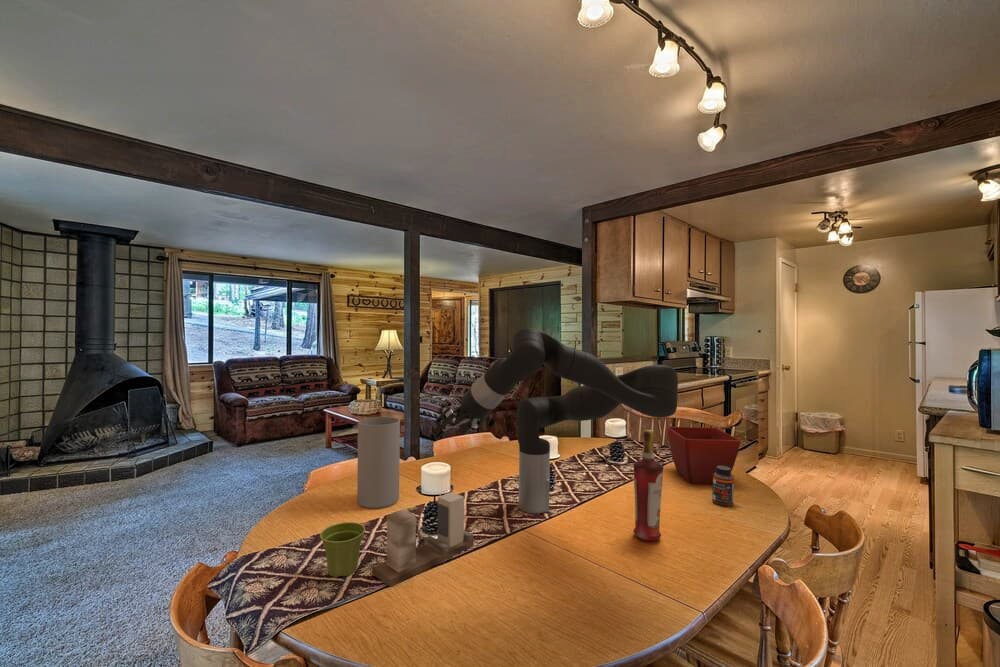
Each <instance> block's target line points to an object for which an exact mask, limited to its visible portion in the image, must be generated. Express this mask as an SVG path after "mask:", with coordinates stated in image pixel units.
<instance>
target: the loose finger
mask: <svg viewBox="0 0 1000 667" xmlns="http://www.w3.org/2000/svg"><path fill="white" fill-rule="evenodd" d="M464 517H465V497H464V496H463V495H460V494H458V493H455V492H453V491H452V492H448V493H445V494H443V495H440V496H438V497H437V538H438V541H440V542H442V543H444V544H446V545H448V547H449V548H450V547H453V546H455V545H457V544H459V543H461V542H463V539H464V530H465V529H464V528H465V526H464V524H465V520H464Z"/></svg>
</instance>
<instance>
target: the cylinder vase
mask: <svg viewBox="0 0 1000 667" xmlns="http://www.w3.org/2000/svg"><path fill="white" fill-rule="evenodd" d="M400 422H401V419H400V418H398V417H393V416H373V417H366V418H362V419H359V420H358V421H357V474H356V475H357V478H356V479H357V483H356V484H357V486H356V487H357V489H356V490H357V491H356V493H357V495H356V497H357V498H356V500H357V504H358V505H359V506H361V507H362V508H366V509H383V508H388V507H390V506H393V505H394V504H396V503H397V502H398V501H399V498H400V463H401V462H400V457H401V456H400V453H401V452H400V451H401V450H400V448H401V447H400V446H401V442H400V440H401V439H400V436H401V435H400V434H401V423H400Z"/></svg>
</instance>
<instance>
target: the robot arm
mask: <svg viewBox="0 0 1000 667" xmlns="http://www.w3.org/2000/svg"><path fill="white" fill-rule="evenodd" d="M511 349H512V351H511V353H510V355H509V356H508V357H507V358H506V357H501V358H499V359H497V360H496V361H495V362H494V363H493V364H492V365H491V366H490V367H489V368H488V369H487V370H486V371H485V372H484V373H483V374H481V376H480V377H478V378H477V380H476V381H475V382H474V383H473V384H472V385H471V386H470V387H469V388H468V390H466V391H465V393H464V394H463V395H462V397H461V403H460V405H459V406H457V407H456V409H453V408H452V407H451V406H448V407H447V408H446V409H445V410H444V411H443V412H442V413H441V414H440V415H439V416H438V417H437V418H436V419H435V420H434V423H435V425H436V427H435V429H433V431H432V435H433V437H434V438H435V439H436V440H439V439H440V438H441V437H442V436H444V434H445V433H446V432H447V431H449V430H450V429H451V428H453V429H455V428H457V427H458V432H459V434H460V436H465V435H466V434H467V433H468V432H469V431H470V430H471V429H472V428H475V427H476V426H481V425H482V424H483V423H484V422H485V421H486V420H487V419H488V417H489V416H491V415H492V414H493V411H494V410H495V409H496V408H497V406H499V405H500V404H501V402H503V401H504V399H505V398H506V396H507V395H508V394H509V393H510V392H511V391H512V390H513V389H514V388H515V387H516V386H517V385H518V384H519V383H521V382H523V381H524V380H526V379H528V378H529V377H531V376H532V375H534V374H536V373H537V372H538V371H539V370H540V369H541V367H542V366H543V364H544V363H545V364H546V365H547V367H548V368H549V370H550V372H551V373H552V374H553V375H555V376H557V377H559V378H562V379H565V380H568V381H570V382H574V383H577V384H580V386H576V387H574V388H572V389H570V390H568V391H567V392H566V393H565V394H562V395H556V396H555V395H554V396H538V397H529V398H522V400H520V401H519V402H518V405H517V408H516V436H517V442H518V447H519V450H518V452H519V453H518V457H519V458H518V461H519V462H518V464H519V465H518V508H519V510H520V511H522V512H525V513H527V514H543V513H550V485H551V484H550V478H551V477H550V473H551V472H550V465H551V464H550V462H551V453H550V452H551V443H550V441H549V440H547V439H545V438H541V437H540V436H539V435H540V433H539V429H544V428H547V427H551V426H553V425H555V424H559V423H561V422H565V421H575V422H576V421H578V422H583V421H592V420H597V419H601V418H604V417H606V416H607V415H609V414H611V413H612V412H614V411H615V409H616V408H618V406H619V405H621V404H622V405H624V406H625V407H628V408H630V409H632V410H634V411H635V412H638V413H640V414H642V415H645V416H648V417H652V418H660V419H661V418H669V417H672V416H673V415H674V414H675V413H676V411H677V408H678V394H679V392H678V391H679V376H678V373H677V371H676V369H674V368H673V367H672V366H669V365H665V364H653V365H646V366H643V367H639V368H636V369H634V370H631V371H629V372H626V373H623V374H620V375H617V376H616V375H615V374H614V372H612V370H611V369H610V368H609V367H608V366H607V365H606V364H605V363H604V362H603V361H602V360H601V359H599V358H598V357H596V356H595V355H594V354H591V353H588V352H586V351H583V350H580V349H577V348H575V347H571V346H568V345H566V344H564V343H563V342H561V341H560V340H559V339H557V338H555V337H553V336H552V335H550V334H548V333H546V332H544V331H543V330H540V329H537V328H534V327H522V328H520V329H519V330H517V331H516V332H515V334H513V337H512V348H511ZM454 420H455V421H456V422H454Z"/></svg>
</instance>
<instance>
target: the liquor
mask: <svg viewBox="0 0 1000 667" xmlns="http://www.w3.org/2000/svg"><path fill="white" fill-rule="evenodd" d="M654 441H655V430H653V429H652V430H651V429H643V442H644V443H643V452H642V459H639V460H637V461H635V462H633V486H634V487H633V489H634V515H635V519H634V520H635V521H634V525H635V526H634V528H633V533H634V535H635V536H636V537H637V538H638V539H639V540H640V541H642V542H647V543H654V542H655V541H657V540H658V539H660V538H661V537H662V533H661V532H660V524H661V504H662V503H661V502H662V495H663V494H662V493H663V478H664V466H663V465H662V464H661V463H660V462H658V461H656V460H655V452H654V451H655V450H654Z"/></svg>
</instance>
